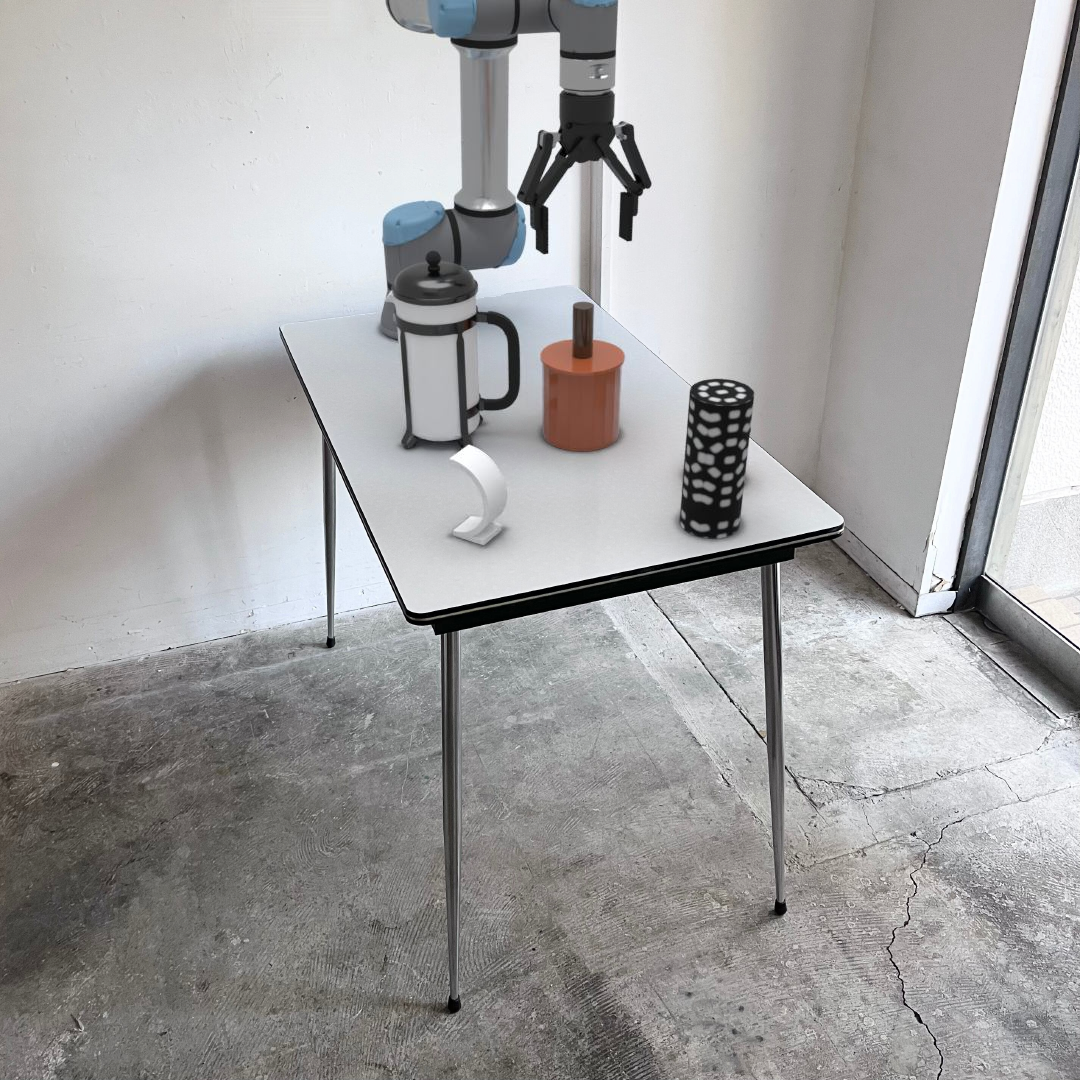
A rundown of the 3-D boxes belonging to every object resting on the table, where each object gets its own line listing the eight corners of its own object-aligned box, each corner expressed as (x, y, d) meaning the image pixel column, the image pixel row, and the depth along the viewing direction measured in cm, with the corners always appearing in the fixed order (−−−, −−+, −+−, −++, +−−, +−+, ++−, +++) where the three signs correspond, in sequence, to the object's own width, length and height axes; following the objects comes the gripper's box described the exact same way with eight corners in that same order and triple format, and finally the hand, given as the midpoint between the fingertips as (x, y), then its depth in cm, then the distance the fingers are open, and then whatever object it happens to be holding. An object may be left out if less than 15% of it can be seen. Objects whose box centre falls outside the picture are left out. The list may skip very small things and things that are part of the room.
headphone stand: (471, 520, 153) (468, 444, 146) (508, 532, 150) (506, 455, 144) (453, 535, 150) (449, 458, 143) (490, 547, 147) (487, 469, 140)
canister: (530, 425, 178) (529, 351, 171) (596, 411, 182) (598, 338, 175) (563, 457, 168) (564, 380, 161) (632, 441, 173) (636, 366, 166)
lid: (526, 354, 171) (526, 298, 166) (600, 340, 176) (601, 285, 171) (563, 385, 161) (563, 327, 156) (639, 370, 166) (642, 312, 161)
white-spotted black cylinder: (693, 542, 148) (705, 409, 137) (670, 512, 154) (680, 382, 144) (749, 533, 150) (765, 401, 139) (724, 503, 156) (737, 375, 146)
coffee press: (427, 468, 165) (415, 276, 149) (380, 428, 177) (364, 246, 160) (523, 439, 173) (521, 254, 157) (472, 403, 185) (465, 226, 168)
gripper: (513, 103, 140) (516, 264, 151) (681, 86, 148) (671, 240, 160) (491, 92, 145) (495, 249, 157) (653, 77, 154) (646, 226, 166)
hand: (584, 245), depth 158 cm, fingers open, 13 cm apart
